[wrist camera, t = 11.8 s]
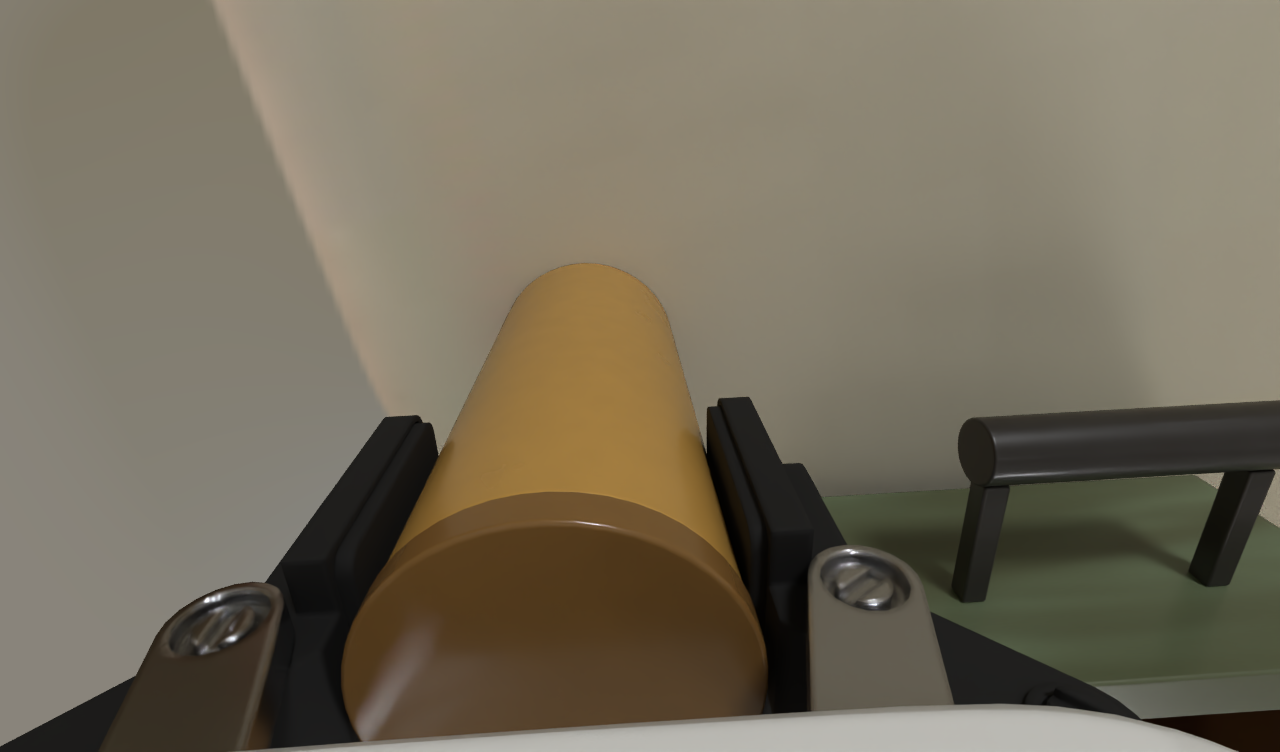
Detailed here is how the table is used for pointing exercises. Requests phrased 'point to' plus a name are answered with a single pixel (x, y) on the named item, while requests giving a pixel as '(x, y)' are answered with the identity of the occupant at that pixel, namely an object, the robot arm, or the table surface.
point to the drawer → (1111, 555)
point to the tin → (562, 542)
